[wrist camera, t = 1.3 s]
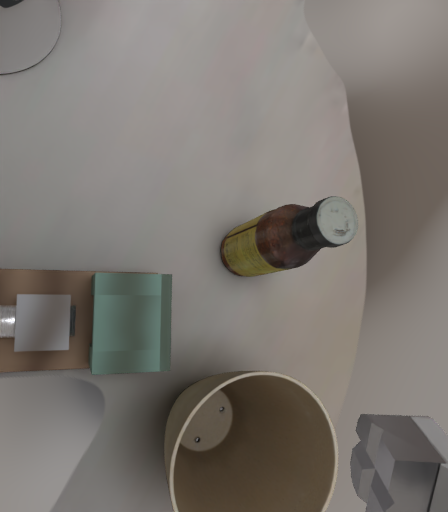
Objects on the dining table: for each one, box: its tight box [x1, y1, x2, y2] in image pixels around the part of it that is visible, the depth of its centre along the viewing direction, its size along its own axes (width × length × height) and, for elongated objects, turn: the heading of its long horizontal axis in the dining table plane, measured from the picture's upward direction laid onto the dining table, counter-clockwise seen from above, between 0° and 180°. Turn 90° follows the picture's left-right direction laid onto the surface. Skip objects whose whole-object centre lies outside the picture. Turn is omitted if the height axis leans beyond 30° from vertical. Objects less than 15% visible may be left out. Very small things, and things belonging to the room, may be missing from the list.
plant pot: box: [164, 371, 338, 512], centre depth 42 cm, size 15×15×16 cm
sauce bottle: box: [221, 196, 358, 277], centre depth 44 cm, size 6×6×20 cm
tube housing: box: [0, 269, 172, 375], centre depth 41 cm, size 23×10×8 cm, turn 90°
